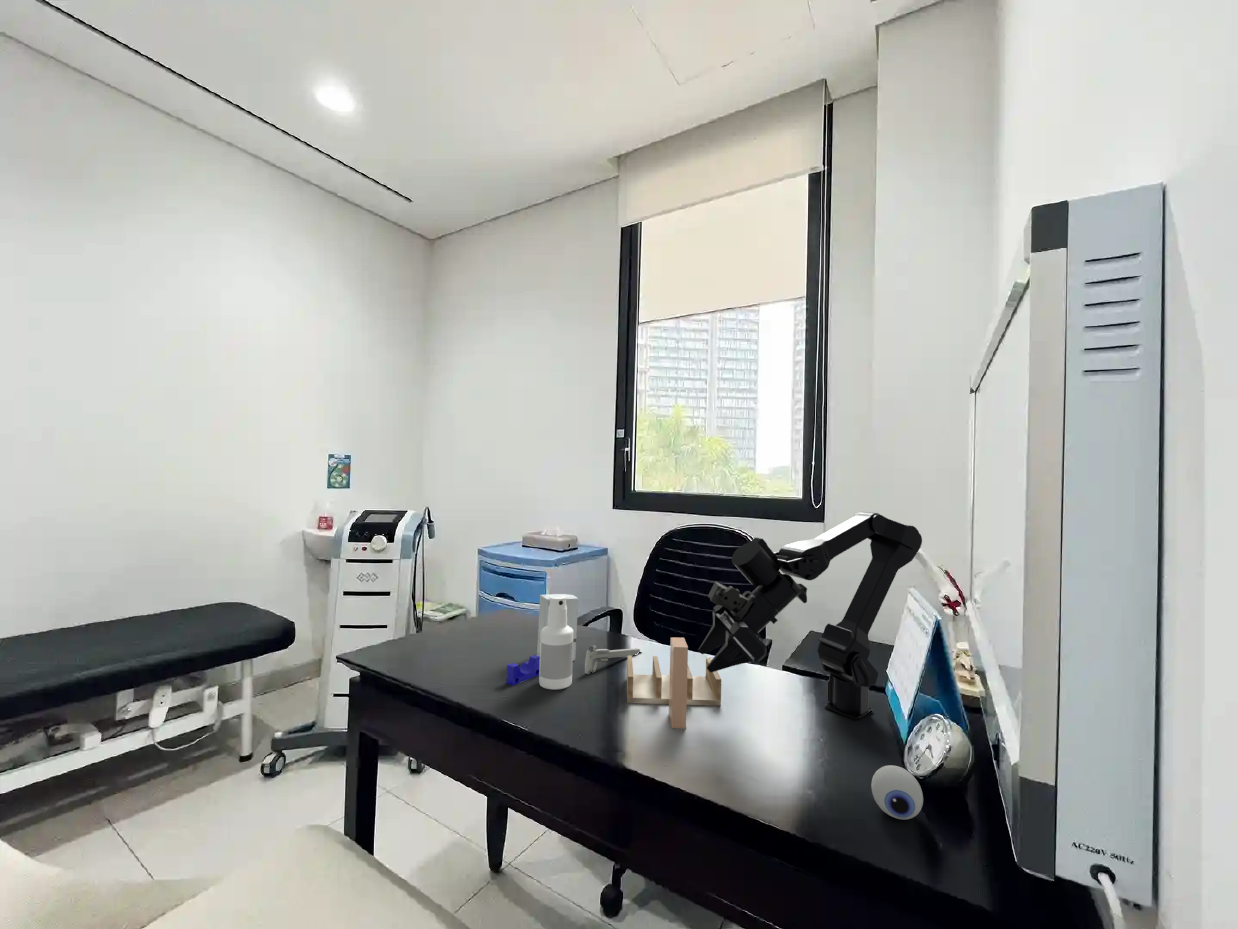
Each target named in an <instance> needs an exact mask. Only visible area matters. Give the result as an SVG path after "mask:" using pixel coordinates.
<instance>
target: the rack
mask: <svg viewBox="0 0 1238 929" xmlns="http://www.w3.org/2000/svg"><path fill="white" fill-rule="evenodd" d="M626 658H627V659H626V660H627V663H626V690H627V692H626V697H627V698H626V700H627V704H652V705H654V704H655V705H669V685H670V674H669V675H668V674H667V675H664V674H662V673H661V666H660V663H659V662H660V661H659V657H658V656H656V655H655V656H654V655H653V656H652V673H651V674H637V673H636V674H634V667H633V666H634V664H633V656H628V655H627V656H626ZM711 660H712V658H711V657H706V658H705V676H702V675H697V676H696V675H695V676H694V675H692V673H691V672H692V671H691V670H690V667H689V665H688V666H687V706H688V705H690V706H713V707H714V706H720V707H721V706H722V703H721V702H722V678H721V676H720V674H719V672H718V671H715V672H709V670H708V669H707V666H708V664H709V663H710V662H711Z"/></svg>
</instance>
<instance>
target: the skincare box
mask: <svg viewBox="0 0 1238 929" xmlns="http://www.w3.org/2000/svg"><path fill="white" fill-rule="evenodd" d="M561 595H562V596H566V607H567V625H568V626H569V627H571V628H572V629H573V661H576V653H577V650H576V649H577V633H578V632H577V630H578V629H577V628H578V615H579V614H578V611H579V598H578V597H577V596H575V595H574V594H572V593H551V594H550V593H549V594H548V593H547V594H540V595H539V611H538V628H537V629H538V630H537V631H538V632H537V650H536V655H537V656H540V637H541V630H542V628H544V627H546V626H547V625H548V609H549V605H550V597H551V596H552V597H559V596H561ZM573 661H572V662H573Z"/></svg>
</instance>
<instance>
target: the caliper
mask: <svg viewBox="0 0 1238 929" xmlns="http://www.w3.org/2000/svg"><path fill="white" fill-rule="evenodd" d="M640 651H641V649H640V648H637V647H636V648H621V649H613V650H610V649H608V648H598V649H597V645H594V644H593V645H589V646H588V650H586V654H585V660H584V674H587V675H590V673H591V672H592V674H594V672H595V673H596V670H597V667H598V665H599V662H602V663H605V662H607V663H608V661H609V659H614V658H624V657H627V655H628V656H632V657H634V656H633V655H635V654H637V653H638V652H640Z"/></svg>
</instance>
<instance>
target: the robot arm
mask: <svg viewBox="0 0 1238 929" xmlns="http://www.w3.org/2000/svg"><path fill="white" fill-rule="evenodd" d="M922 537H923V536H922V534H921V533H920V532H919V529H917V527H915V526H914V525H907V524H903V523H901V522H898V521H895V520H893V519H890V518H887V517H885V516H884V515H882V514H880V513H878V512H868V511H867V512H866V511H860V512H857V513H855V514H854V515H853V516H852V517H850V518H849V519H847V520H845V521H844V522H842V523H839V524H838V525H836V526H834V527H832V528H831V529H828V531H827V530H826V532H823V533H822V534H820V535H818V536H816V537H815V538H811V539H804V540H798V541H795V542H791V543H789V544H788V543H787V544H785V545H783V546H782V547H781V548H780V549H779V550H777V551H774V552H773V551H772V549H771V548H770V547H769V546H768V544H767V542H766V541H765V539H763V538H761V537H756V536H754V537H753V539H752V541H749V542H748V541H747V542H746V543H744V544H743V545H741V546H740V547H737V549H736V550H734V552H733V554H732V556H731V563H732V564H733V565H734V566H735V567H736V568H737V570H738V571H739V572H740V573H741V574H742V576H744V577H745V579H746V580H747V581H748V583H750V584H751V585H752V586H754V587H755V589H754V590H752V592H751V591H750V590H746V591H744V592H743V593H742V594H741V592H740V590H739V589H738V588H734V587H733V586H731V585H729V586H726V585H724V584H721V583H719V582H717V581H714V583H713V585H712V586H711V588H710V591H709V593H708V595H707V598H709V600H710V602H712V603H713V604H714V605H715V606H714V607H713V608H712V609H713V610H714V611H712V626H711V627H710V629H709V631H708V633H707V635H706V636H705V638H704V639H703V641H702V642H701V644H700V646H699V647H698V652H699V653H700V654H701V655H704V654H707V653H709V652H711V651H713V650H715V649H718V648H720V647H721V646H722V647H721V648H720V649H719V651H718V652H717V653H716V654H715V656H713V658H711V662H710V663H709V664H708V666H707V669H708V670H709V672H715V671H717V672H718V671H721V670H725V669H728V668H732V667H734V666H740V665H742V664H746V663H754V662H755V661H756V662H757V663H760V662H761V661H762V660H763V659H764V658H765V657H766V656H767V654H768V652H767V651H768V648H767V647H768V646H767V645H766V644H765V643H764V642H763V640H761V639H760V638H762V637H761V635H760V632H761V631H762V630H763V629H764V628H765V627H767V626H768V624H769V623H772V624H773V625H775V624H776V623H777V622H778V619H777V618H776V617H777V616H779V614H780V613H781V612H782V611H784V609H786V608H787V606H789V605H790V603H791V602H793V601H794V599H796V598H797V599H798V600H799V601H801V602H802V603H803V604H806V603H807V602H808V597H807V591H808V588H807V587H806V586H805V585H804V584H802V583H797V582H796V581H795V579H793V577H795V578H797V579H802V580H804V581H814V580H815V579H817V578H818V577H819V576H820V575H822V574H823V573H825V571H826V570H828V568H829V566H830V562H831V561H832V560H833V559H834V558H836V557H838V556H839V555H841V554H842V553H844V552H846V551H848V550H850V549H852V547H854V546H857V545H858V544H860V543H862V542H863V541H864V540H867V539H868V540H870V544H869V547H870V553H871V560H870V562H869V564H868V566H867V568H866V571H865V573H864V574H863V577H862V578H861V581H860V583H859V585H858V587H857V590H856V591H855V593H854V596H853V597H852V599H851V602H850V604H849V606H848V608H847V609H846V612H845V613H844V616H843V618H842V619H841V621H840V622H838V623H836V624H832V623H830V622H828V623H827V624H826V625H825V627H824V630H823V632H822V635H821V636H820V637H819V638H818V639H817V642H819V644H818V646H817V650H816V651H817V653H818V657H819V660H820V663H821V665H822V669H823V671H824V672H825V673H829V679H828V680H827V682H826V684H827V688H826V691H827V692H826V702H828V703H826V704H824V708H825V709H828V710H830V711H833V712H835V711H836V712H835V713H837V712H838V714H840V715H843V716H846V717H848V718H850V719H852V718H854V719H853V720H855V719H857V720H859V719H858V718H860V719H861V718H863V717H865V716H867V715H868V714H867V713H869V712H870V711H874V709H873V708H872V707H870V706H869V703H870V702H869V701H870V700H869V698H870V696H869V695H870V693H869V692H870V688H871V687H872V686H873V685H876V684H877V681H878V677H879V671H877V669H876V668H875V667H874V666H873V665H872V663H871V662H870V661H869V656H870V653H871V646H870V641H869V640H870V639H869V633H870V630H871V629H872V626H873V624H874V622H875V620H876V618H877V616H878V613H879V611H880V610H881V607H882V605H883V603H884V601H885V598H886V596H887V595H888V592H889V590H890V587H891V586H892V583H894V581H895V580H894V579H895V577H896V576H897V573H898V571H899V570H900V569H902V568H903V567H904V566H906V565H908V564H909V563H911V562H913V560H914V558H915V557H916V555H917V553H918V552H919V550H920V549H921V546H922V543H923V538H922ZM753 658H754V659H753ZM866 714H867V715H866ZM869 714H870V713H869ZM864 715H865V716H864ZM862 716H863V717H862Z"/></svg>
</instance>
